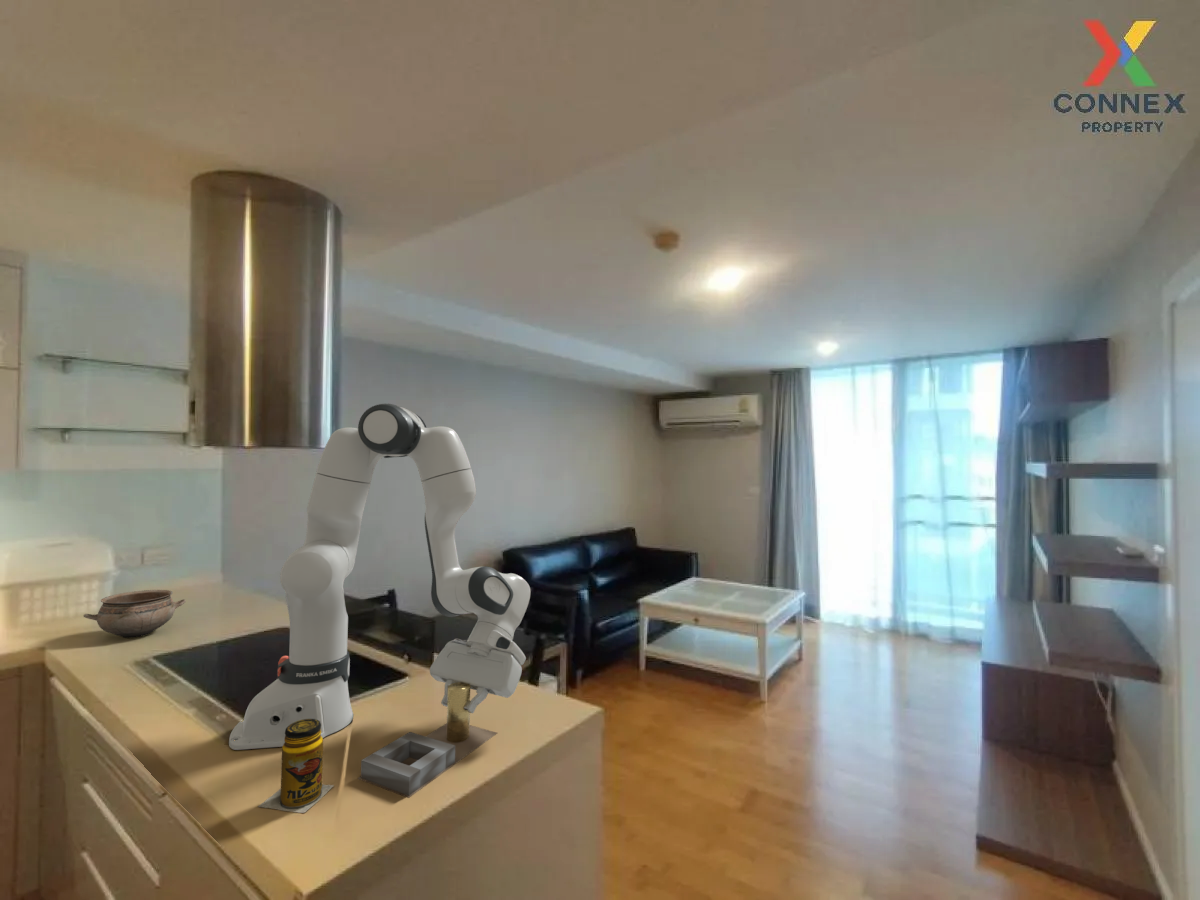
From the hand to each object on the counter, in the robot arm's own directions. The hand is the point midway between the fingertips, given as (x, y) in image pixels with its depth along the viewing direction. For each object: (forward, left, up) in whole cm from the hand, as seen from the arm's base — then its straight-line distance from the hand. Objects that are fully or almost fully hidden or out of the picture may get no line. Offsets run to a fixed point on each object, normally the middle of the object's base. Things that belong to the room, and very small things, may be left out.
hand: (456, 708), depth 107 cm
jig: (-5, -4, -7) cm, 9 cm away
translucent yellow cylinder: (0, 0, -6) cm, 6 cm away
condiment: (-27, -8, -7) cm, 29 cm away
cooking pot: (-87, +104, -7) cm, 136 cm away
